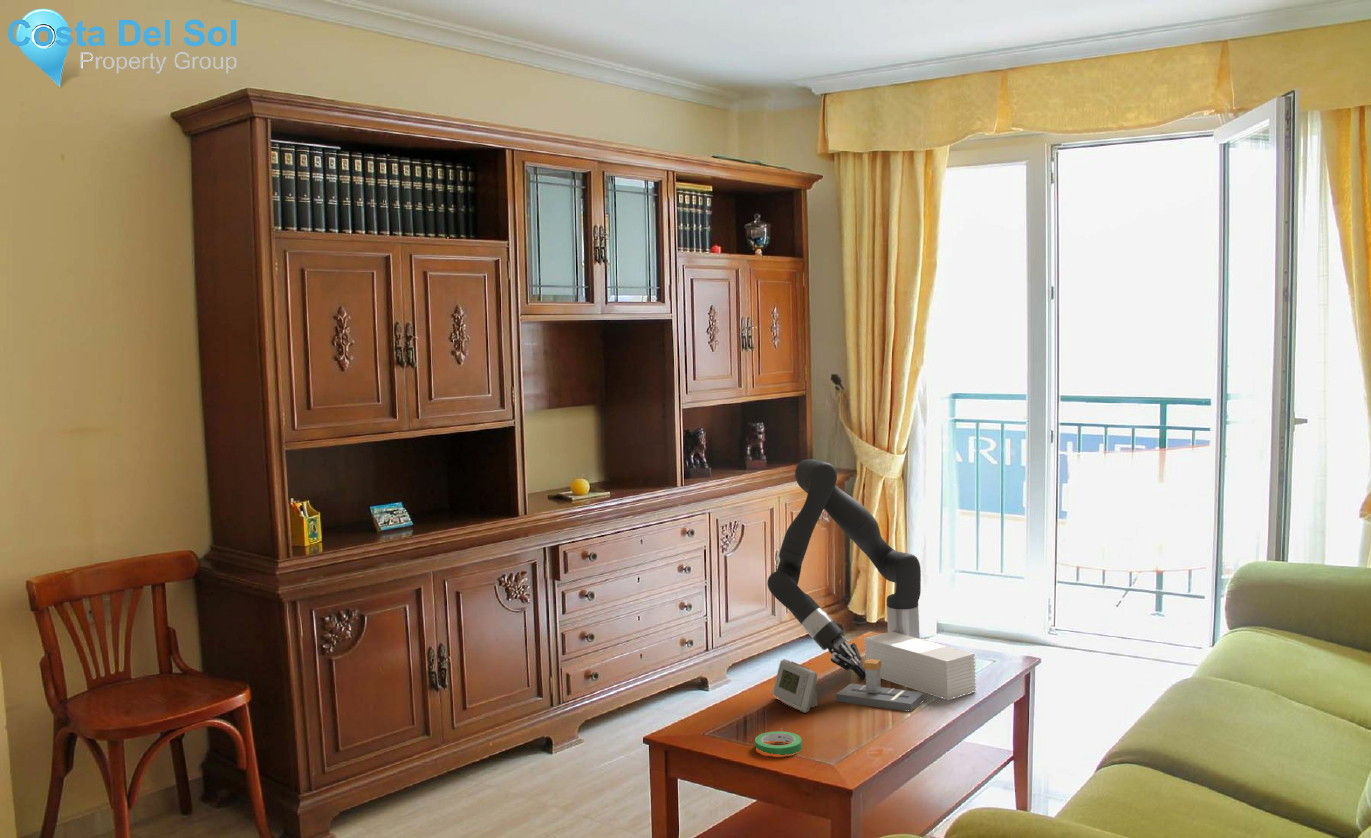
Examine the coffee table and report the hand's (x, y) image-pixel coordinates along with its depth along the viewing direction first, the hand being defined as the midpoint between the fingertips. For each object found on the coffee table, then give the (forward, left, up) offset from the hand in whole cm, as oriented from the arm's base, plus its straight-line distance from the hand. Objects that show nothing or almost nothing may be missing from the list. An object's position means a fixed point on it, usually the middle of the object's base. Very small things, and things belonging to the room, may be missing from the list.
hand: (866, 677), depth 283 cm
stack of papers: (-19, +8, -6) cm, 21 cm away
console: (0, +4, -6) cm, 7 cm away
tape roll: (+42, -5, -6) cm, 43 cm away
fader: (0, +2, -4) cm, 4 cm away
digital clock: (+12, -16, -6) cm, 21 cm away
